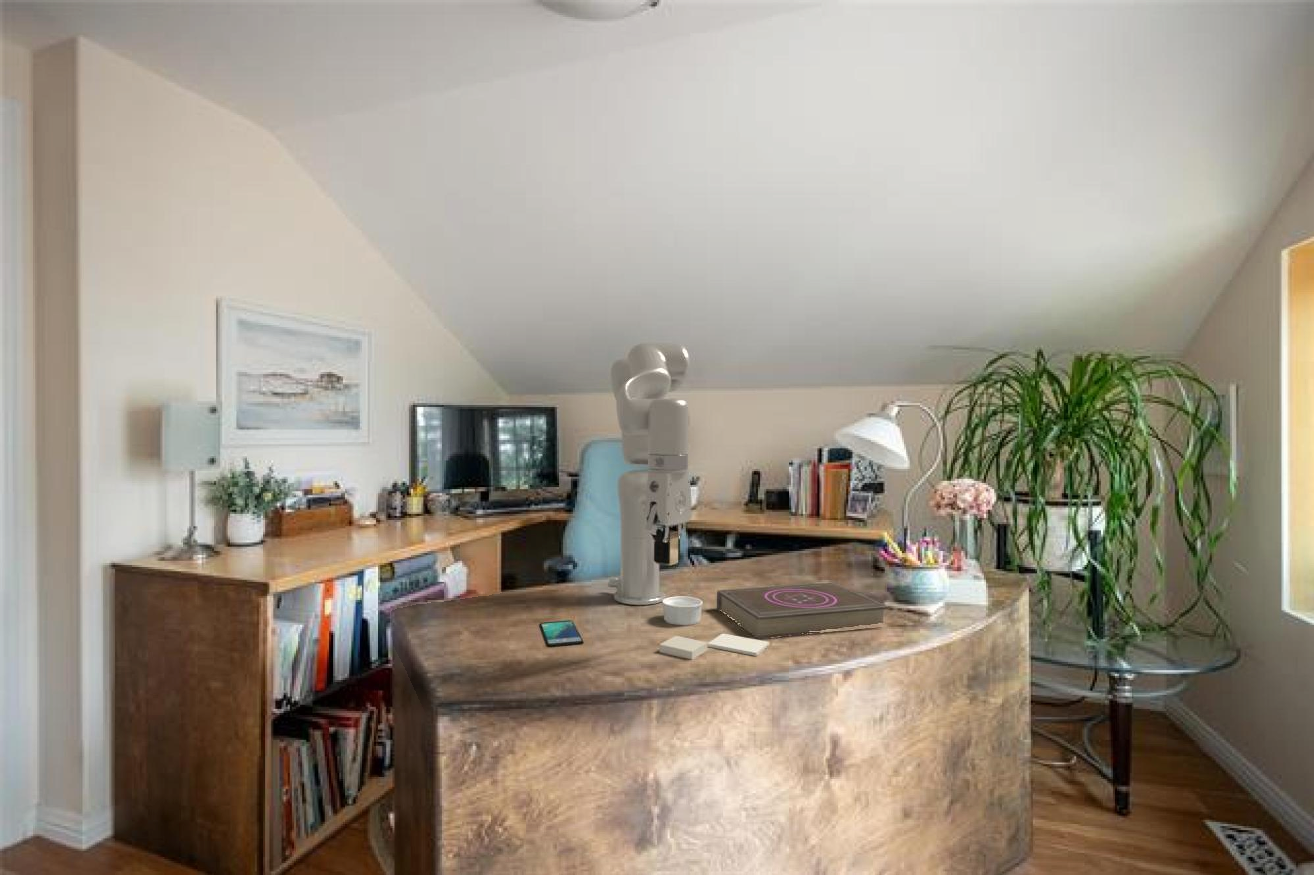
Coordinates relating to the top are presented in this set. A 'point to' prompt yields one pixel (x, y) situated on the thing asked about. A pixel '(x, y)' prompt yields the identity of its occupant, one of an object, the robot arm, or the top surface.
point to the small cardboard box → (673, 547)
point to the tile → (683, 647)
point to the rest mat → (739, 644)
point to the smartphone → (560, 633)
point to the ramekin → (682, 610)
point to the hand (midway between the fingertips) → (667, 560)
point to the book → (798, 609)
